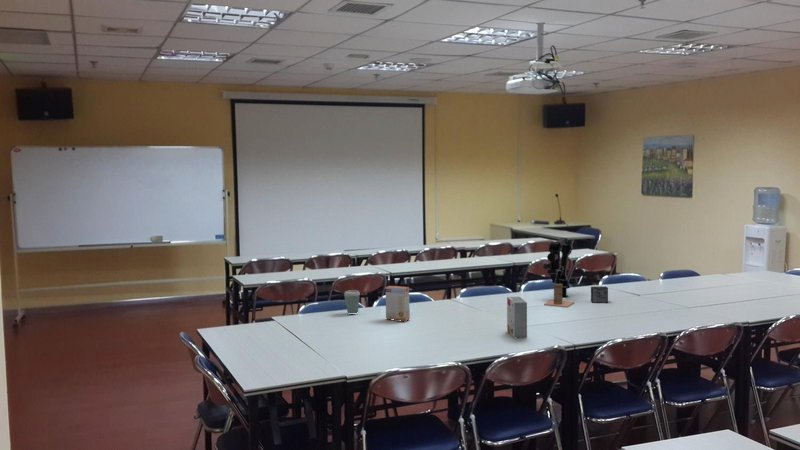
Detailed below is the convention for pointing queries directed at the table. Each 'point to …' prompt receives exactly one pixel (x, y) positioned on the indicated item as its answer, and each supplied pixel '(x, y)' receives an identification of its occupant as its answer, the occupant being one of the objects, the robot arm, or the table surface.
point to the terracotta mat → (564, 304)
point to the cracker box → (397, 303)
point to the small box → (599, 294)
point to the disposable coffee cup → (352, 300)
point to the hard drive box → (517, 316)
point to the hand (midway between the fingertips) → (555, 281)
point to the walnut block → (557, 293)
